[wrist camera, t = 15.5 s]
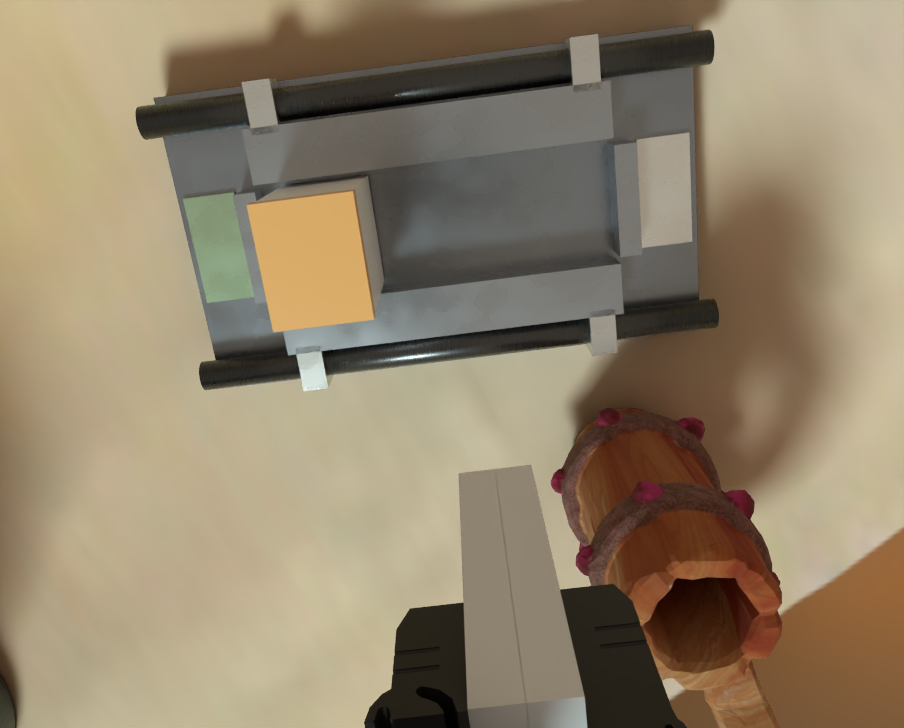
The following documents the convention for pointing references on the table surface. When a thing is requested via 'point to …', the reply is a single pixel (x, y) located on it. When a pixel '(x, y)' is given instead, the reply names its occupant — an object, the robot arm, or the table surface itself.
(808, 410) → the table surface
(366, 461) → the table surface
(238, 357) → the panel
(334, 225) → the orange grey block
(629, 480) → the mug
